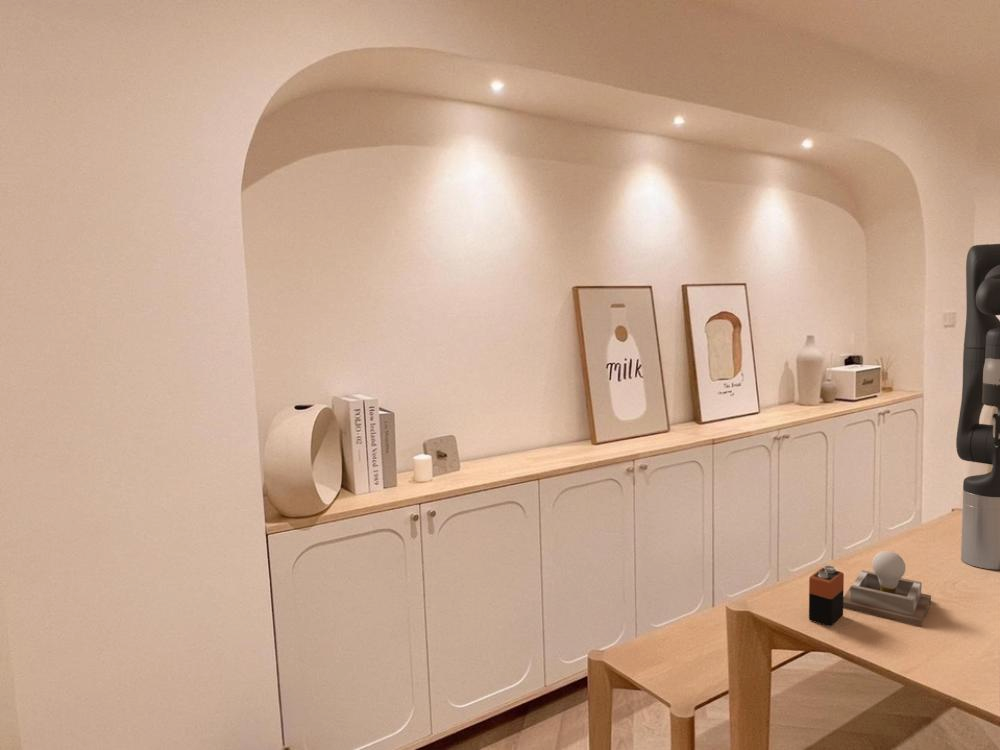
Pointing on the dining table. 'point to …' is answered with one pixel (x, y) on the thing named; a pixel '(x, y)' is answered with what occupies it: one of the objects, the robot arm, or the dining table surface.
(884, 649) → the dining table surface
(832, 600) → the battery
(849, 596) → the frame
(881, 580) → the light bulb
